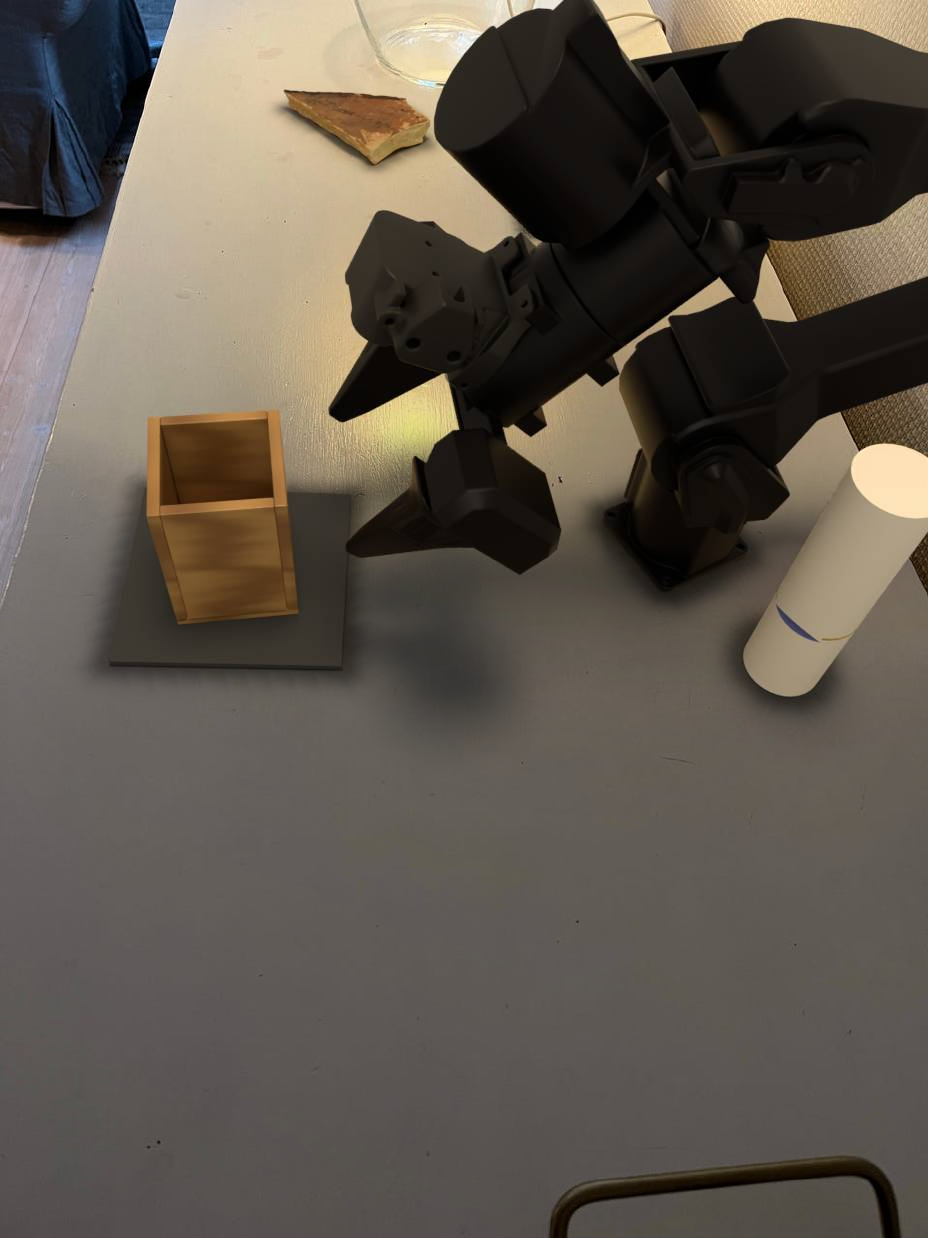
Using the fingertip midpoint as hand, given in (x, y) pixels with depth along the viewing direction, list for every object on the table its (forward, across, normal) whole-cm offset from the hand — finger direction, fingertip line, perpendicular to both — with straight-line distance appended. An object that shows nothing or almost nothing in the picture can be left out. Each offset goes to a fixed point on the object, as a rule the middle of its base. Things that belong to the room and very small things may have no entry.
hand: (342, 480), depth 50 cm
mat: (+9, 0, +1) cm, 9 cm away
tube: (-11, +9, +22) cm, 26 cm away
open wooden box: (+9, 0, 0) cm, 9 cm away
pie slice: (+2, -44, +9) cm, 45 cm away
